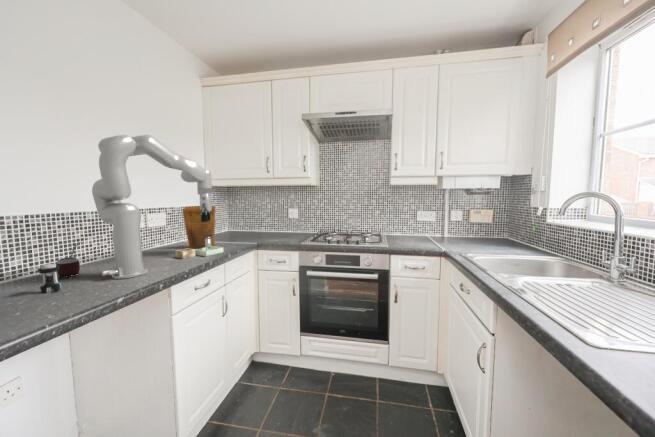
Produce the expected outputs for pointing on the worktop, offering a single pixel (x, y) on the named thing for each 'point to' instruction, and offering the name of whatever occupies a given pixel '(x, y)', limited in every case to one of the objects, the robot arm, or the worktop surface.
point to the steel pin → (208, 243)
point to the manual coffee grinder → (68, 265)
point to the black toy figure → (49, 278)
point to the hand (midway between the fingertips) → (206, 221)
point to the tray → (211, 252)
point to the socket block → (185, 253)
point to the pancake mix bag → (198, 227)
